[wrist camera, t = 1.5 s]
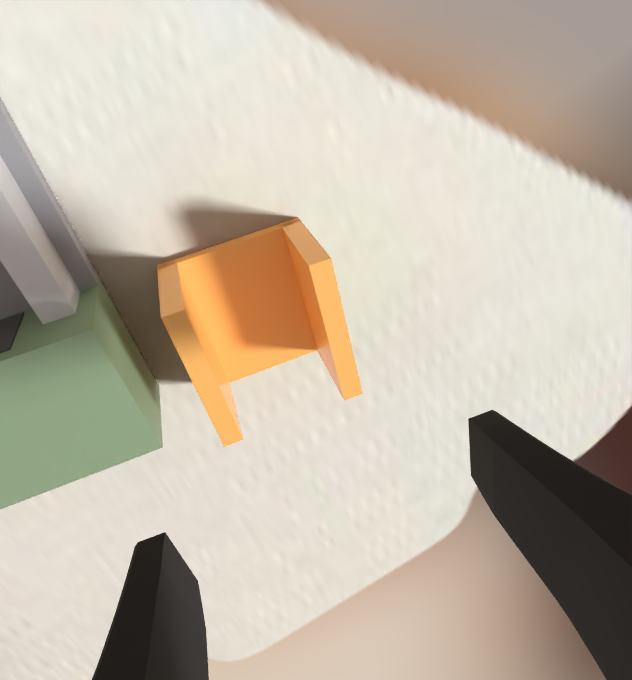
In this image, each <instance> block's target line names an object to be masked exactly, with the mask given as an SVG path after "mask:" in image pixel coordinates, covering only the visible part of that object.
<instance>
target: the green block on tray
mask: <svg viewBox="0 0 632 680" xmlns="http://www.w3.org/2000/svg"><path fill="white" fill-rule="evenodd" d="M162 447H163V445H162V428H161V410H160V393H159V385H158V384H157V382H156V380H155V378H154V376H153V374H152V373H151V371H150V369H149V367H148V365H147V364H146V362H145V360H144V358H143V356H142V354H141V353H140V351H139V349H138V347H137V345H136V344H135V342H134V340H133V338H132V336H131V334H130V333H129V331H128V329H127V327H126V325H125V324H124V322H123V320H122V318H121V316H120V314H119V313H118V311H117V309H116V307H115V305H114V304H113V302H112V300H111V298H110V296H109V294H108V293H107V291H106V289H105V287H104V285H103V284H102V282H101V280H100V278H99V276H98V274H97V273H96V271H95V269H94V267H93V265H92V263H91V262H90V260H89V258H88V256H87V254H86V253H85V251H84V249H83V247H82V245H81V243H80V242H79V240H78V238H77V236H76V234H75V233H74V231H73V229H72V227H71V225H70V223H69V222H68V220H67V218H66V216H65V214H64V213H63V211H62V209H61V207H60V205H59V203H58V202H57V200H56V198H55V196H54V194H53V193H52V191H51V189H50V187H49V185H48V183H47V182H46V180H45V178H44V176H43V174H42V173H41V171H40V169H39V167H38V165H37V163H36V162H35V160H34V158H33V156H32V154H31V152H30V151H29V149H28V147H27V145H26V143H25V142H24V140H23V138H22V136H21V134H20V132H19V131H18V129H17V127H16V125H15V123H14V122H13V120H12V118H11V116H10V114H9V112H8V111H7V109H6V107H5V105H4V103H3V102H2V100H1V98H0V509H2V508H5V507H8V506H10V505H13V504H16V503H18V502H21V501H23V500H26V499H29V498H31V497H34V496H36V495H39V494H42V493H44V492H47V491H50V490H52V489H55V488H57V487H60V486H63V485H65V484H68V483H71V482H73V481H76V480H78V479H81V478H84V477H86V476H89V475H91V474H94V473H97V472H99V471H102V470H105V469H107V468H110V467H112V466H115V465H118V464H120V463H123V462H125V461H128V460H131V459H133V458H136V457H139V456H141V455H144V454H146V453H149V452H152V451H154V450H157V449H160V448H162Z"/></svg>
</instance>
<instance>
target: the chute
mask: <svg viewBox="0 0 632 680" xmlns="http://www.w3.org/2000/svg"><path fill="white" fill-rule="evenodd" d="M157 273H158V287H159V300H160V314H161V319H162V321H163V323H164V325H165V327H166V329H167V331H168V334H169V336H170V338H171V340H172V342H173V344H174V346H175V348H176V350H177V352H178V354H179V356H180V358H181V360H182V362H183V364H184V366H185V368H186V370H187V372H188V374H189V376H190V378H191V380H192V382H193V384H194V386H195V388H196V391H197V393H198V395H199V397H200V399H201V401H202V403H203V405H204V407H205V409H206V411H207V413H208V415H209V417H210V419H211V421H212V423H213V425H214V427H215V429H216V431H217V433H218V435H219V437H220V439H221V441H222V443H223V445H224V447H225V446H227V445H230V444H232V443H235V442H238V441H240V440H243V436H242V432H241V428H240V424H239V420H238V416H237V412H236V408H235V404H234V400H233V396H232V392H231V388H230V384H229V382H232V381H235V380H238V379H240V378H243V377H246V376H248V375H251V374H254V373H256V372H259V371H262V370H265V369H267V368H270V367H273V366H275V365H278V364H281V363H283V362H286V361H289V360H291V359H294V358H297V357H300V356H302V355H305V354H308V353H310V352H313V351H316V350H317V351H318V353H319V354H320V356H321V358H322V360H323V362H324V364H325V366H326V367H327V369H328V371H329V373H330V375H331V377H332V378H333V380H334V382H335V384H336V386H337V388H338V390H339V391H340V393H341V395H342V397H343V399H344V400H347V399H349V398H352V397H354V396H357V395H360V394H362V389H361V385H360V381H359V376H358V372H357V368H356V363H355V359H354V355H353V351H352V346H351V342H350V338H349V333H348V329H347V325H346V321H345V316H344V312H343V308H342V303H341V299H340V295H339V291H338V286H337V282H336V278H335V273H334V269H333V265H332V261H331V258H330V256H329V255H328V254H327V253H326V251H325V250H324V249H323V248H322V246H321V245H320V244H319V243H318V242H317V240H316V239H315V238H314V237H313V235H312V234H311V233H310V232H309V230H308V229H307V228H306V227H305V225H304V224H303V223H302V222H301V221H300V219H299V218H295V219H292V220H289V221H286V222H283V223H280V224H277V225H274V226H271V227H268V228H265V229H262V230H259V231H256V232H253V233H250V234H247V235H245V236H242V237H239V238H236V239H233V240H230V241H227V242H224V243H221V244H218V245H215V246H212V247H209V248H206V249H203V250H200V251H197V252H194V253H191V254H188V255H186V256H183V257H180V258H177V259H174V260H171V261H168V262H165V263H162V264H159V265H157Z"/></svg>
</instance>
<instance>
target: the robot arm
mask: <svg viewBox="0 0 632 680" xmlns="http://www.w3.org/2000/svg"><path fill="white" fill-rule="evenodd" d="M469 440H470V462H471V476H472V478H473V479H474V481H475V483H476V485H477V487H478V488H479V490H480V492H481V494H482V495H483V497H484V499H485V501H486V502H487V504H488V506H489V507H490V509H491V511H492V512H493V514H494V516H495V517H496V518H497V520H498V521H499V523H500V524H501V525H502V527H503V528H504V529H505V531H506V532H507V533H508V535H509V536H510V538H511V539H512V540H513V542H514V543H515V544H516V546H517V547H518V548H519V550H520V551H521V552H522V554H523V555H524V557H525V558H526V559H527V561H528V562H529V563H530V565H531V566H532V567H533V568H534V570H535V571H536V573H537V574H538V575H539V577H540V578H541V579H542V581H543V582H544V583H545V585H546V586H547V587H548V589H549V590H550V592H551V593H552V594H553V596H554V597H555V598H556V600H557V601H558V603H559V604H560V606H561V607H562V608H563V610H564V611H565V613H566V614H567V616H568V617H569V619H570V620H571V622H572V623H573V625H574V627H575V628H576V630H577V631H578V633H579V635H580V636H581V638H582V640H583V641H584V643H585V645H586V646H587V648H588V649H589V651H590V653H591V654H592V656H593V658H594V659H595V661H596V662H597V664H598V666H599V668H600V669H601V671H602V672H603V674H604V676H605V678H606V679H607V680H632V495H631V494H629V493H627V492H625V491H624V490H622V489H620V488H618V487H616V486H615V485H612V484H611V483H609V482H607V481H605V480H604V479H602V478H600V477H599V476H597V475H595V474H593V473H592V472H590V471H588V470H587V469H585V468H583V467H582V466H580V465H578V464H577V463H575V462H573V461H572V460H570V459H568V458H567V457H565V456H563V455H562V454H560V453H558V452H557V451H555V450H554V449H552V448H550V447H549V446H547V445H546V444H544V443H543V442H541V441H540V440H538V439H537V438H535V437H533V436H532V435H530V434H529V433H527V432H526V431H524V430H523V429H521V428H520V427H518V426H517V425H515V424H514V423H512V422H511V421H509V420H508V419H506V418H505V417H503V416H502V415H500V414H499V413H497V412H496V411H494V410H491V411H488V412H486V413H483V414H480V415H477V416H475V417H472V418H469ZM92 680H209V677H208V658H207V641H206V627H205V621H204V614H203V608H202V602H201V596H200V590H199V585H198V580H197V579H196V577H195V576H194V575H193V573H192V572H191V570H190V569H189V567H188V566H187V564H186V563H185V561H184V560H183V558H182V557H181V555H180V554H179V552H178V551H177V549H176V548H175V546H174V545H173V543H172V542H171V540H170V539H169V537H168V536H167V534H166V533H165V532H164V533H162V534H159V535H156V536H154V537H151V538H148V539H146V540H143V541H140V542H138V543H137V545H136V546H135V548H134V552H133V556H132V559H131V563H130V566H129V570H128V573H127V577H126V580H125V583H124V587H123V590H122V593H121V597H120V600H119V603H118V606H117V609H116V613H115V616H114V619H113V622H112V625H111V628H110V630H109V633H108V636H107V639H106V642H105V645H104V648H103V651H102V654H101V657H100V660H99V662H98V665H97V668H96V670H95V673H94V676H93V678H92Z"/></svg>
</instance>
